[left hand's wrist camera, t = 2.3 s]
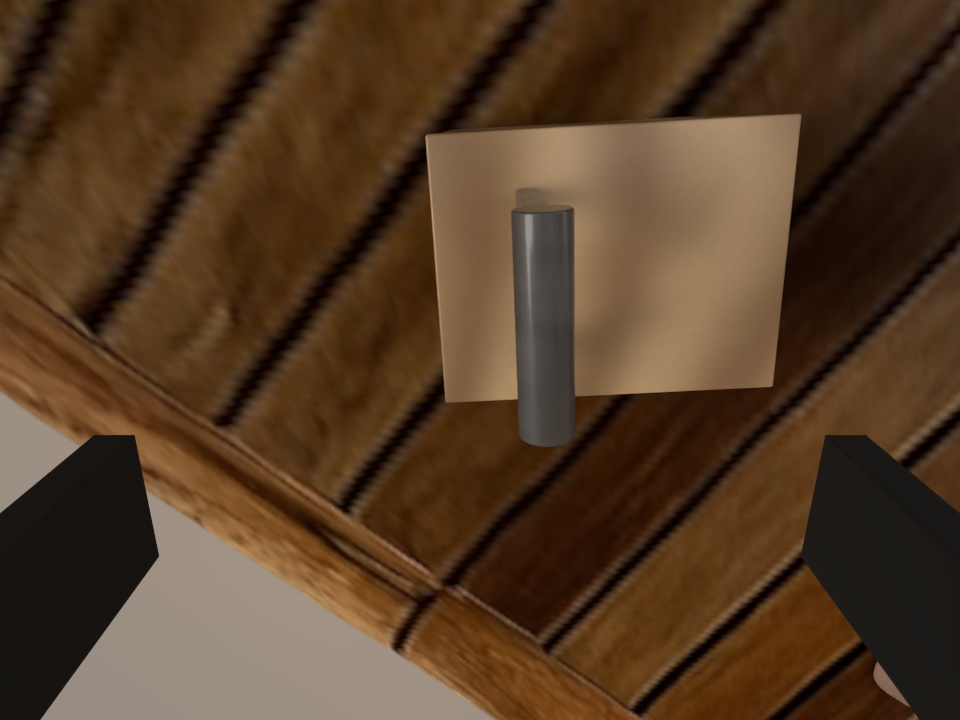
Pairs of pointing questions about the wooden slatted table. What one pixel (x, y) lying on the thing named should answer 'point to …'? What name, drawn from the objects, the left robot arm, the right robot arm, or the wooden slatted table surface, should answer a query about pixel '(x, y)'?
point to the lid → (609, 260)
